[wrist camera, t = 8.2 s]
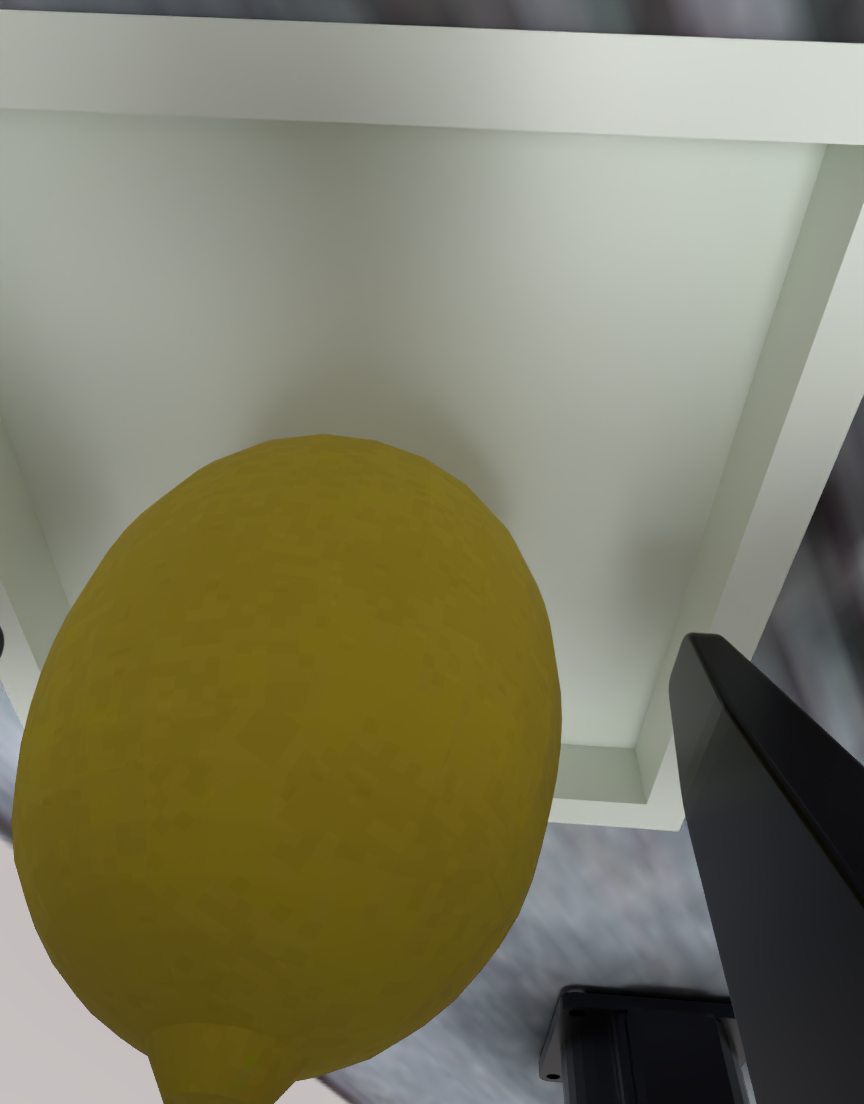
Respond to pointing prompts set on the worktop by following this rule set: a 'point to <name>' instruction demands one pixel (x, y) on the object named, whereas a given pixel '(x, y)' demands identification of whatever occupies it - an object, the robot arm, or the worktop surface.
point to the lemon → (289, 765)
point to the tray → (441, 312)
